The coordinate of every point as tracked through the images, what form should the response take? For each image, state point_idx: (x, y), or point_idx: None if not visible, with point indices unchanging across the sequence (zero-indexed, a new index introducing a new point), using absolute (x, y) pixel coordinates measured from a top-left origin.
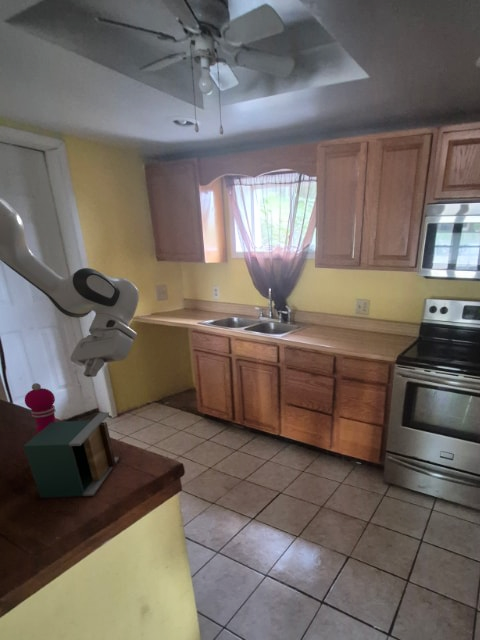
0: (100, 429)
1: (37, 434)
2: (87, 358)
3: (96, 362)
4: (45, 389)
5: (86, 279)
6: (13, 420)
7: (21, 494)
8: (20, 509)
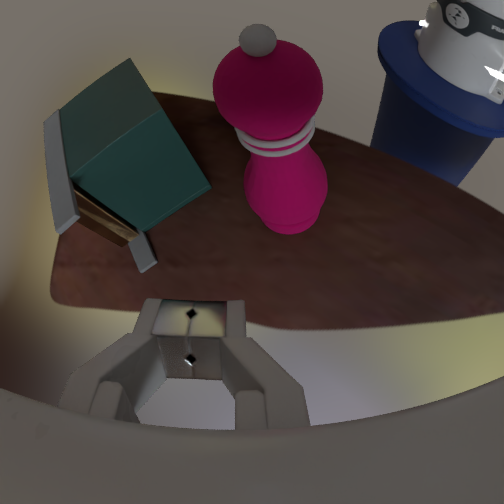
0: None
1: (139, 76)
2: (262, 430)
3: (78, 373)
4: (244, 73)
5: None
6: None
7: (212, 117)
8: (179, 108)
